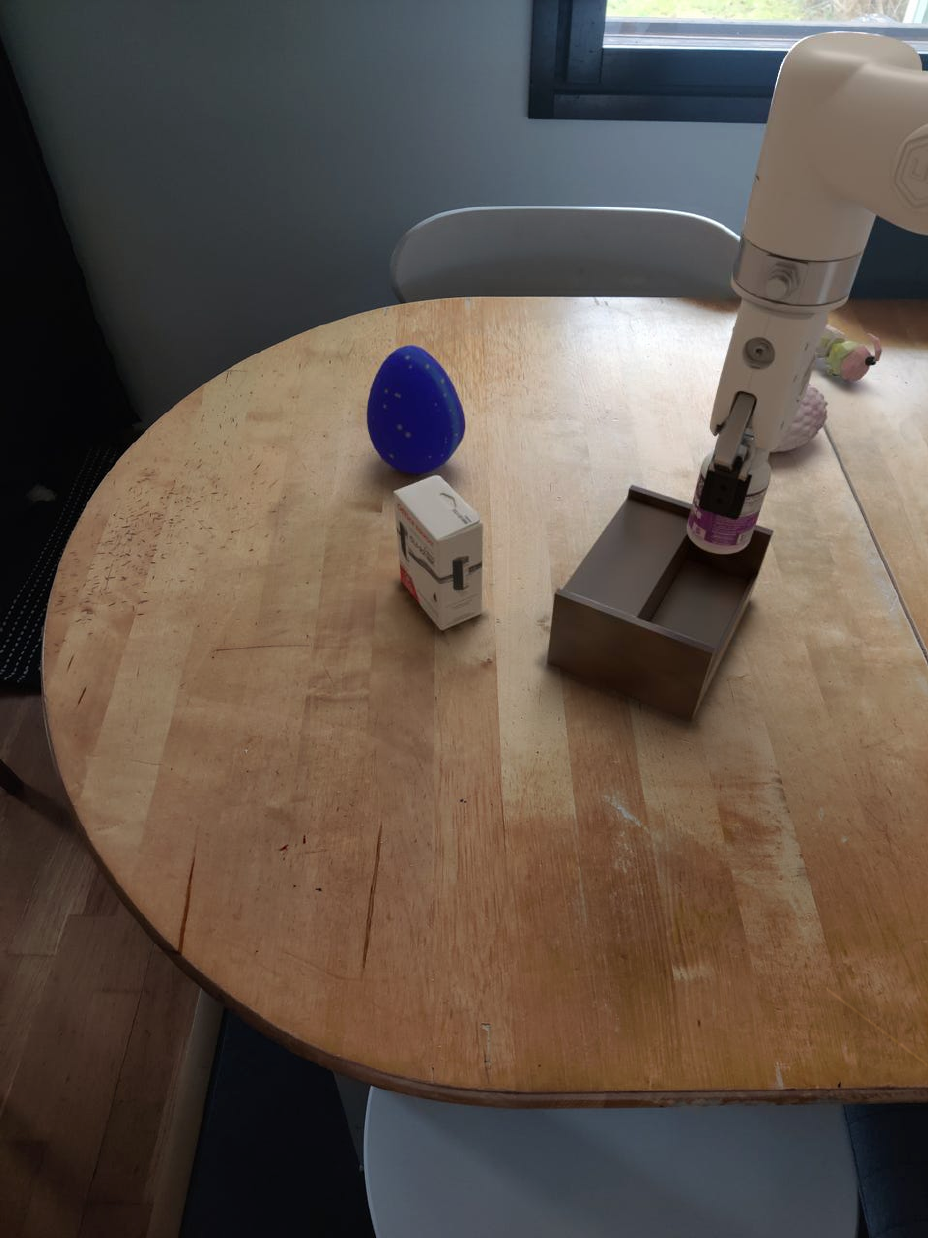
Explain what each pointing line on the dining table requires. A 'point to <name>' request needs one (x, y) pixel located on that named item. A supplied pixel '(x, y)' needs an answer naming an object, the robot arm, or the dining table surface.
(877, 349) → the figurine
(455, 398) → the ornament
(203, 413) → the dining table surface
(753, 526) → the pill bottle
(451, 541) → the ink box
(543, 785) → the dining table surface
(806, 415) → the decorative item
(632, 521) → the brown open box
